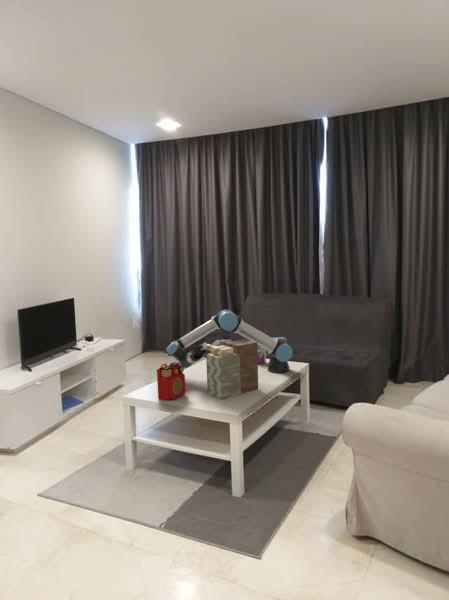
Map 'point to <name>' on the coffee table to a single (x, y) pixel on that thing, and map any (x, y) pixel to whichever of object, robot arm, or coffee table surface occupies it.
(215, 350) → the light wooden block
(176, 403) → the coffee table surface
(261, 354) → the candy bar box
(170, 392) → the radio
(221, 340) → the coffeepot
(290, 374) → the coffee table surface
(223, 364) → the stand
